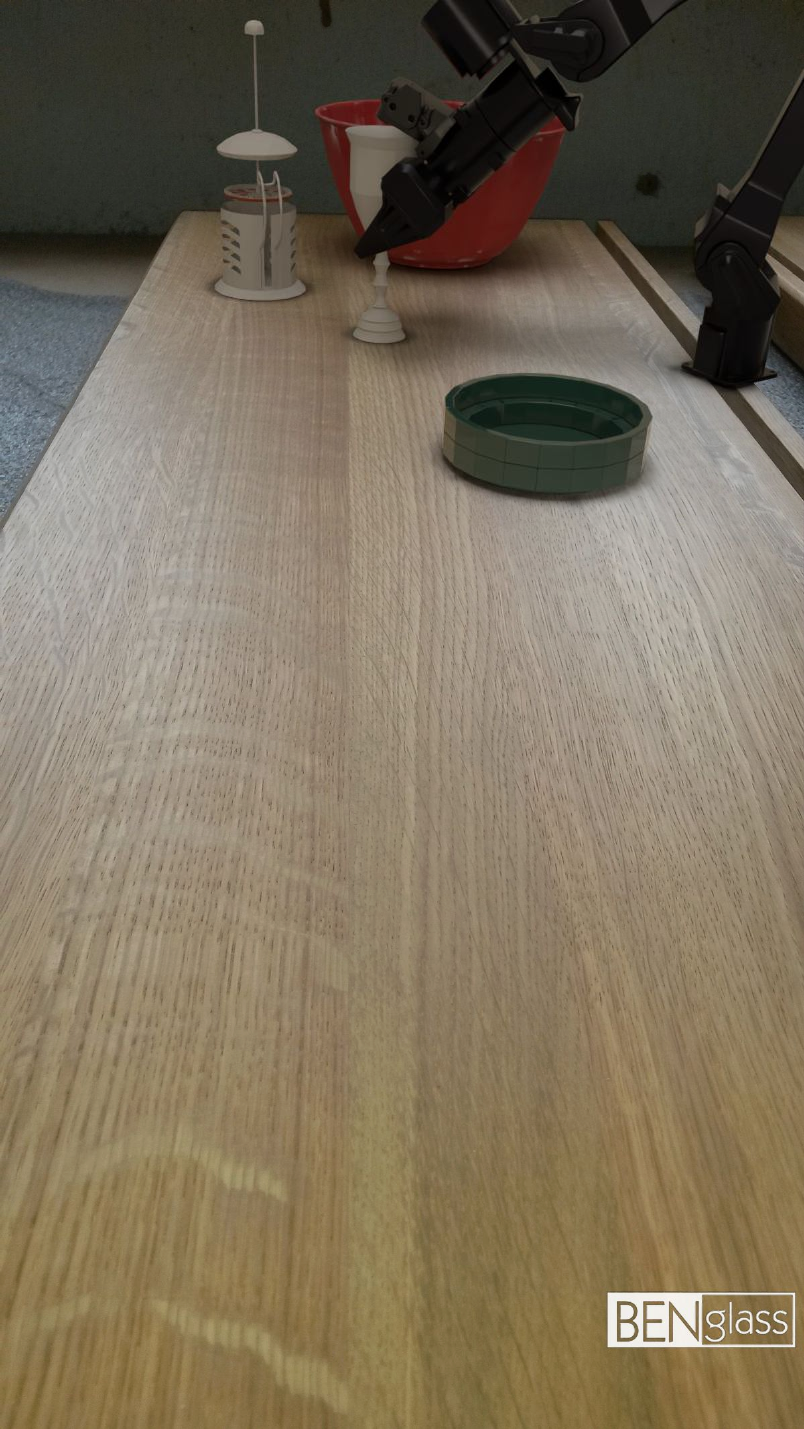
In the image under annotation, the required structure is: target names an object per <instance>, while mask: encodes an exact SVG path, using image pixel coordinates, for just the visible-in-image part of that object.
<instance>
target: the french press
mask: <svg viewBox="0 0 804 1429" xmlns="http://www.w3.org/2000/svg"><path fill="white" fill-rule="evenodd" d="M244 34H246V35H252V37H253V38H252V39H253V75H254V76H253V77H254V114H255V115H254V116H255V128H253V129H251V130H249V131H243V132H239V133H236V134H234V135H232V136H229V137H228V138H226V139H225V140H223V141H222V142H221V143H219V144H218V145H217V146H216V151H217V153H218V154H219V155H220V156H222V157H224V158H231V159H235V160H242V161H243V160H245V161H255V162H256V182H254V183H250V182H249V183H248V184H247V183H242V184H241V183H240V184H239V183H238V184H233V185H229V186H226V187H225V188H223V195H224V196H225V197H226V198H229V199H231V200H229V201H226V202H224V203H222V204H221V205H220V222H221V225H223V226H221V237H222V238H223V239H221V247H222V248H221V249H222V250H223V251H224V252H222V253H221V254H222V262H223V265H222V277H221V278H220V279H219V280H218V281H217V282H216V283H215V284H214V290H215V291H216V292H218V293H219V294H220V295H222V296H226V297H229V298H234V299H240V300H248V301H278V300H287V299H291V298H294V297H298V296H301V295H302V294H304V293H305V292H306V291H307V288H306V285H305V284H304V283H303V282H302V280H300V279H299V278H297V277H298V263H297V262H295V261H296V260H297V257H298V255H297V249H296V248H297V247H296V246H297V245H298V244H297V237H295V235H296V234H297V224H295V223H296V220H297V207H296V205H295V204H293V203H290V202H287V201H286V200H289V199H291V198H292V197H293V196H294V192H293V191H292V189H291V188H288V187H286V186H283V185H281V183H280V182H281V181H280V178H279V177H280V176H279V175H278V172H277V171H276V170H274V171H273V174H272V175H273V177H272V182H269V183H268V182H267V183H264V180H263V176H262V172H261V171H260V161H278V160H285V159H288V158H291V157H293V156H295V154H297V152H298V148H297V147H296V146H295V145H294V144H292V143H291V142H290V141H288V140H287V139H286V138H285V137H282V136H280V135H278V134H275V133H272V132H267V131H264V130H262V129H261V128H259V111H258V110H259V109H258V108H259V107H258V106H259V104H258V65H257V62H258V61H257V59H258V58H257V36H259V35H260V36H261V35H265V28H264V25H263V24H262V22H261V21H260V20H256V19H252V20H248V21H247V22H246V23H245V25H244ZM276 182H277V184H276ZM224 225H226V226H228V225H232V226H233V228H231V229H229V228H228V227H226V226H224ZM230 238H231V239H232V240H233V241H231V242H230V241H228V240H227V239H230ZM227 251H232V252H233V253H232V254H230V253H227ZM229 263H231V264H232V265H233V266H228V265H226V264H229Z"/></svg>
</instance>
